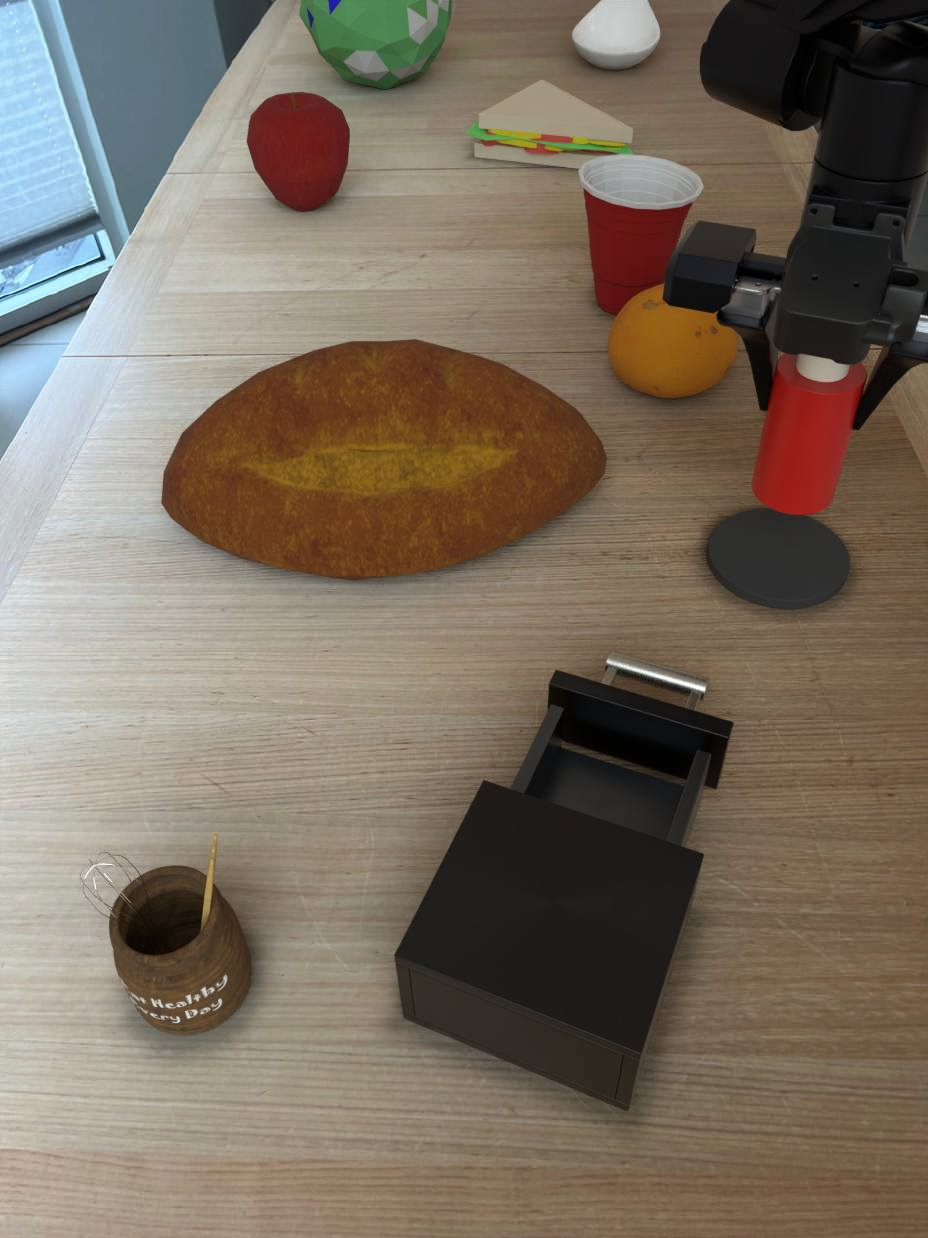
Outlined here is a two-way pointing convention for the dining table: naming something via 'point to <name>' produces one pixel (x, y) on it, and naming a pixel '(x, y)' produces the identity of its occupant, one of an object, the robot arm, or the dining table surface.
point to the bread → (379, 461)
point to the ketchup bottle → (806, 432)
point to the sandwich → (548, 129)
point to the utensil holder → (178, 947)
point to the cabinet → (549, 941)
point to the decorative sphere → (378, 37)
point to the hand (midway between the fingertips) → (809, 416)
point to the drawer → (627, 748)
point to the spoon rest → (617, 34)
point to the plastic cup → (634, 221)
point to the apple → (299, 148)
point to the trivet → (778, 558)
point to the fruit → (669, 347)
